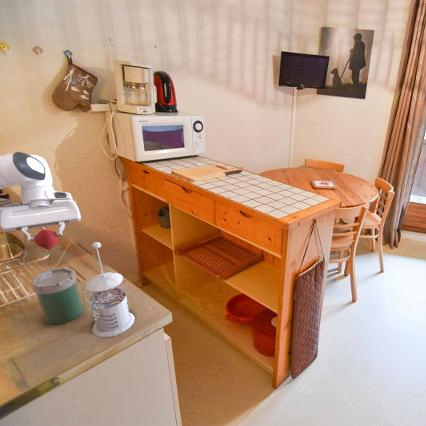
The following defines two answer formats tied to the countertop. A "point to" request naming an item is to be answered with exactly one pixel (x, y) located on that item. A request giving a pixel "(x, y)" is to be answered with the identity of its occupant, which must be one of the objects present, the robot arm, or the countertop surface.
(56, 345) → the countertop surface
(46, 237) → the onion
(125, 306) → the french press
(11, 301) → the countertop surface
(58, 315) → the jar
